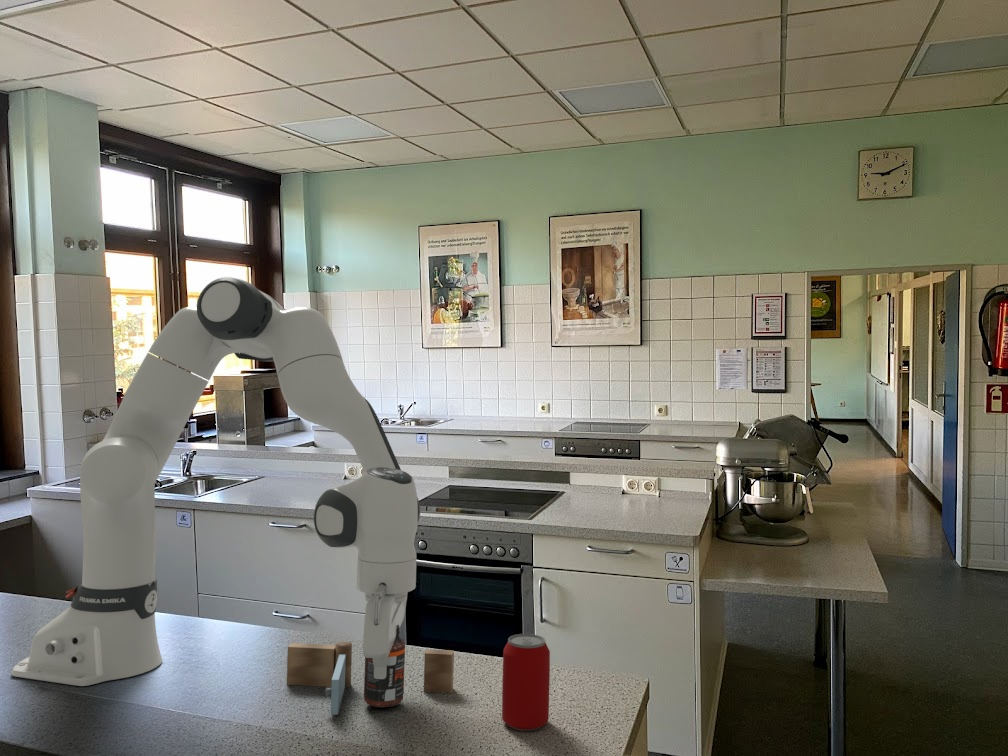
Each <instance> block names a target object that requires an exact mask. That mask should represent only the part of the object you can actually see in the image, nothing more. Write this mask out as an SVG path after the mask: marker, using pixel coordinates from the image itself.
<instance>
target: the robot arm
mask: <svg viewBox="0 0 1008 756" xmlns="http://www.w3.org/2000/svg"><path fill="white" fill-rule="evenodd" d="M232 354H234V355H235V357H237V359H241V360H252V361H256V362H257V361H259V362H270V363H271V362H273V363H274V367H275V370H276V374H277V378H278V383H279V387H280V392H281V394H282V396H283V399H284V401H285V403H286V404H287V406H288V409H290V410H291V412H293V413H294V414H295V415H296V416H297V417H299V418H301V419H303V420H305V421H307V422H308V423H312V424H315V425H318V426H321V427H323V428H326V429H328V430H331V431H333V432H334V433H337V434H339V435H340V436H341V437H343V438H344V439H345V440H347V441H348V442H349V443H350V445H351V446H352V448H353V449H354V451H355V455H356V456H357V459H358V461H359V463H360V466H361V468H362V470H363V474H362V475H361V476H360V477H359V478H357V479H356V480H353V481H352V482H348V483H347V484H343V485H340V486H337V487H334V488H329V489H326V490H325V491H324V492H323V493H322V494H321V495H320V496H319V497H318V500H317V502H316V504H315V507H314V512H313V524H314V525H313V526H314V529H315V533H316V535H317V536H318V537H319V539H320V540H321V541H322V542H323V544H325V545H326V546H328V547H330V548H336V549H347V548H353V547H355V548H356V549H357V550H358V555H357V567H356V569H357V572H356V574H357V575H356V589H357V590H358V591H360V592H362V593H365V595H364V600H365V601H366V604H365V612H364V621H363V622H364V623H363V639H362V654H363V657H364V658H365V657H366V658H372V659H373V665H374V678H375V679H385V678H386V676H387V666H388V664H387V657H388V656H389V653H390V651H391V648H392V646H393V643H394V641H395V638H396V628H397V625H399V629H400V628H401V626H402V624H403V621H404V618H405V614H406V607H407V601H408V593H409V592H412V591H413V590H415V589H416V587H417V585H416V583H417V549H416V547H415V540H416V539H415V538H416V535H417V532H418V524H419V521H420V516H421V505H420V500H419V497H418V493H417V488H416V487H417V486H416V483H415V480H414V478H413V477H412V475H410V474H409V473H408V472H407V471H404V470H402V469H401V467H400V465H399V463H398V460H397V457H396V455H395V453H394V451H393V448H392V446H391V445H390V441H389V440H388V437H387V434H386V433H385V430H384V428H383V425H382V423H381V421H380V419H379V417H378V415H377V413H376V411H375V410H374V407H373V406H372V404H371V403H370V402H369V401H368V400H367V399H366V398H365V397H364V396H363V395H362V394H361V392H359V390H358V389H357V387H356V386H355V384H354V381H352V379H351V378H350V375H349V373H348V371H347V368H346V366H345V363H344V359H343V356H342V353H341V350H340V348H339V345H338V342H337V339H336V337H335V335H334V333H333V331H332V329H331V327H330V325H329V323H328V321H327V319H326V318H325V316H324V315H323V314H322V313H321V312H320V311H319V310H316V309H314V308H311V307H307V306H303V307H300V306H299V307H293V308H289V309H286V308H284V307H283V306H282V305H281V304H280V303H279V302H278V301H277V300H275V298H273V297H272V295H271V296H270V295H269V294H267V293H265V292H263V291H261V290H260V289H258V288H257V287H256V286H255V285H253V284H252V283H250V282H248V281H246V280H243V279H241V278H237V277H234V276H223V277H219V278H216V279H214V280H212V281H211V282H209V283H208V284H207V285H206V286H205V287H204V288H203V289H202V291H201V292H200V294H199V296H198V298H197V302H196V306H187V307H183V308H180V309H179V310H178V311H176V313H175V314H174V315H173V316H172V317H171V318H170V319H169V321H167V323H166V325H165V326H164V327H163V328H162V330H161V331H160V332H159V333H158V336H157V337H156V338H155V339H154V341H153V343H152V345H151V346H150V348H149V350H148V352H147V354H146V355H145V356H144V358H143V360H142V361H141V364H140V366H138V367H139V368H138V369H137V371H136V373H135V375H134V376H133V378H132V380H131V382H130V383H129V385H128V388H127V389H126V390H125V392H124V395H123V398H122V399H121V402H120V404H119V407H118V409H117V412H116V413H115V415H114V417H113V420H111V421H112V422H111V423H110V426H109V428H108V430H107V431H106V434H105V435H104V437H103V439H102V440H101V441H99V442H97V443H96V444H94V445H93V446H92V447H90V449H89V450H88V451H87V452H86V454H85V455H84V456H83V459H82V461H81V464H80V467H79V489H80V490H79V492H80V493H79V494H80V510H81V512H80V513H81V521H82V533H83V544H82V545H83V547H82V549H83V550H82V575H81V580H82V581H81V583H80V584H77V585H76V586H74V587H73V588H72V589H69V590H67V591H65V593H66V594H67V593H68V594H67V595H66V596H65V598H66V599H69V598H71V597H72V601H71V603H70V606H69V607H68V608H66V609H65V610H64V611H63V612H61V613H60V614H58V615H57V616H56V617H54V619H52V620H50V622H48V623H46V624H45V625H44V626H43V627H41V628H40V629H39V630H37V632H36V634H35V635H34V636H33V638H32V642H31V645H30V651H29V655H28V657H26V658H24V659H23V660H20V661H19V662H18V663H16V664H15V665H14V667H13V668H12V672H11V675H12V677H16V678H17V677H18V678H24V679H29V680H36V681H44V682H51V683H56V684H57V683H58V684H63V685H70V686H78V687H84V686H85V687H87V686H91V685H95V684H99V683H103V682H108V681H113V680H120V679H125V678H130V677H134V676H138V675H141V674H144V673H147V672H149V671H151V670H154V669H156V668H157V667H158V666H161V664H162V662H163V658H162V654H161V650H160V647H159V641H158V635H157V634H158V633H157V626H156V612H157V611H156V610H157V604H158V603H157V602H158V580H157V579H156V578H155V576H156V573H155V572H156V549H157V547H156V544H157V529H156V528H157V527H156V506H155V505H156V504H155V502H156V500H155V499H156V497H155V495H156V494H155V493H156V492H155V489H156V488H155V486H156V485H155V484H156V481H157V480H158V478H159V477H160V475H161V472H162V471H163V469H164V467H165V465H166V463H167V462H168V459H169V458H170V456H171V453H172V452H173V450H174V449H175V446H176V444H177V442H178V440H179V438H180V437H181V434H182V432H183V430H184V428H185V426H186V425H187V422H188V420H189V419H190V416H191V415H192V413H193V411H194V409H195V407H197V404H198V402H199V400H200V398H201V396H202V395H203V393H204V392H205V389H206V388H207V387H208V386H207V385H208V384H209V381H210V380H211V378H212V376H213V374H214V372H215V370H216V368H217V366H218V365H219V364H220V362H221V361H222V360H223V359H224V358H225V357H227V356H228V355H232ZM377 624H378V625H377Z"/></svg>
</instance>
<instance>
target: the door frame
mask: <svg viewBox="0 0 1008 756" xmlns="http://www.w3.org/2000/svg"><path fill="white" fill-rule="evenodd" d="M352 651H353V643H352V642H350V641H340V642H337V643H336V644H322V643H320V644H319V643H316V644H315V643H300V642H299V643H298V642H297V643H296V642H291V643H290V644H289V645H288V646H287V660H286V661H287V662H286V663H287V664H286V685H288V686H305V687H306V686H309V687H325V688H331V686H332V677H333V674H334V670H335V667H336V664H337V660H338V657H339V654H346V663H345V688H344V689H346V688H349V687H350V686H352V660H353V659H352V658H353V657H352V656H353V655H352V654H353V652H352ZM454 657H455V651H454V650H452V649H451V650H450V649H427V648H426V650H425V652H424V667H423V668H424V669H423V670H424V671H423V692H426V693H443V694H452V692H453V690H454V667H455V666H454V665H455V664H454V662H455V661H454V660H455V658H454Z"/></svg>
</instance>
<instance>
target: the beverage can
mask: <svg viewBox="0 0 1008 756" xmlns="http://www.w3.org/2000/svg"><path fill="white" fill-rule="evenodd" d="M502 653H503V654H502V687H501V688H502V689H501V691H502V693H501V694H502V696H501V698H502V699H501V703H502V704H501V708H502V709H501V719H502V720H503V722H504V724H507V725H508V726H509V727H511V728H512V729H514V730H517V731H526V732H529V731H535V730H538V729H540V728H541V727H543V726H545V725H546V724H547V723H548V721H549V718H550V717H549V716H550V715H549V713H550V711H549V710H550V682H551V681H550V680H551V679H550V677H551V676H550V671H551V670H550V667H551V662H550V661H551V651H550V649H549V646H548V645H547V643H546V639H545V637H543V636H541V635H538V634H533V633H519V634H514V635H511V636H509V637H508V639H507V643H506V644H505V646H504V648H503V652H502Z"/></svg>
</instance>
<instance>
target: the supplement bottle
mask: <svg viewBox="0 0 1008 756" xmlns="http://www.w3.org/2000/svg"><path fill="white" fill-rule="evenodd" d="M377 625H378V624H377ZM405 659H406V643H405V641H404V639H402V638H401V637H400V628H399V625H397V628H396V638H395V641H394V643H393V646H392V648H391V651H390V653H389V656H388V657H387V664H388V666H387V676H386V678H385V679H375V678H374V665H373V659H372V658H366V657H364V677H363V678H364V679H363V680H364V682H363V683H364V684H363V700H364V703H366V704H367V705H369V706H371V707H375V708H392V707H395V706H397V705H399V704H400V703H401V702H403V699H404V693H405V692H404V691H405V690H404V689H405V687H404V685H405V664H406V662H405Z"/></svg>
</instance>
